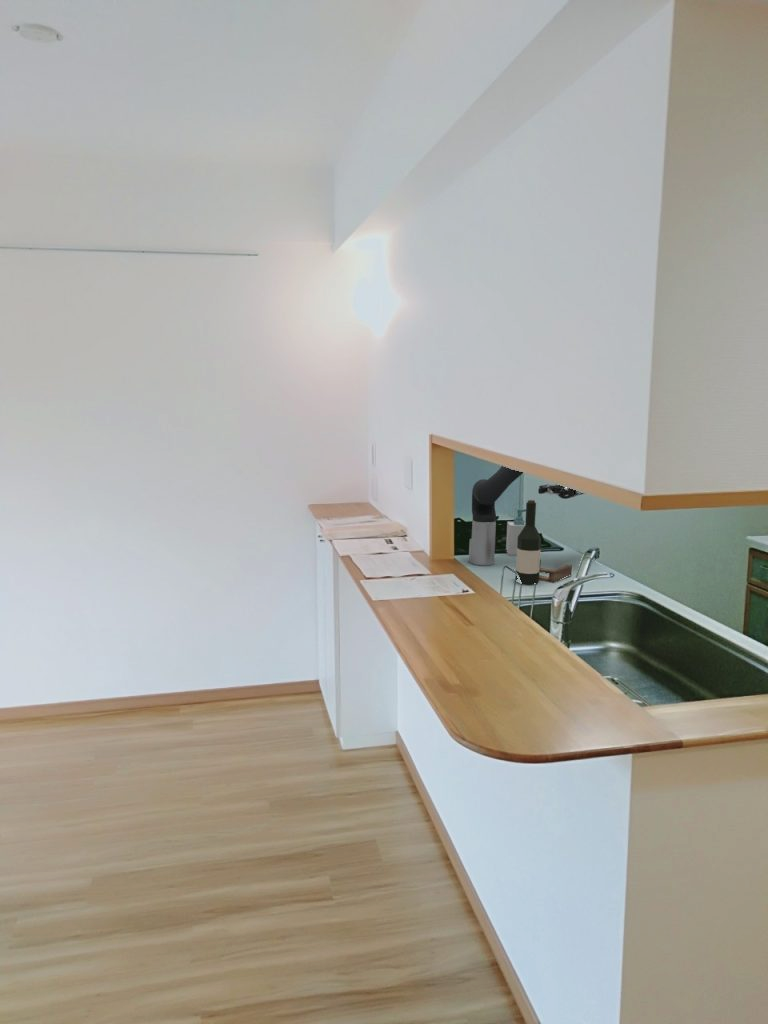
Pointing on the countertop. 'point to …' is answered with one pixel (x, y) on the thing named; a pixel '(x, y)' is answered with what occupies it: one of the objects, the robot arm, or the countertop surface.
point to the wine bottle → (529, 548)
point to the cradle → (555, 573)
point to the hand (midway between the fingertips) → (549, 492)
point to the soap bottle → (514, 532)
